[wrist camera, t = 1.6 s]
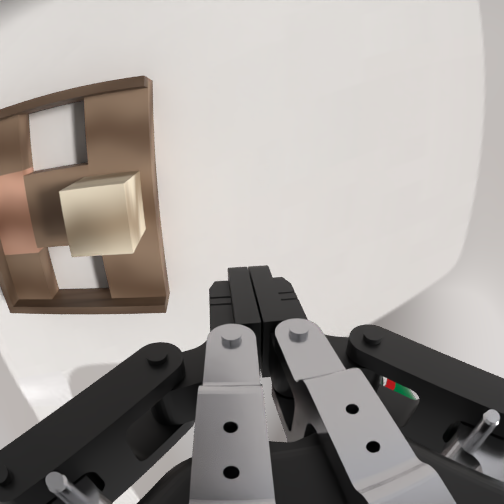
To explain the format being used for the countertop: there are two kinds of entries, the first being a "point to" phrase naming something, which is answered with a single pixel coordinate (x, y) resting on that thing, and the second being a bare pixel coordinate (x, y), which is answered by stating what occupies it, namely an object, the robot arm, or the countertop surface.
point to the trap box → (50, 210)
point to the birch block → (104, 214)
